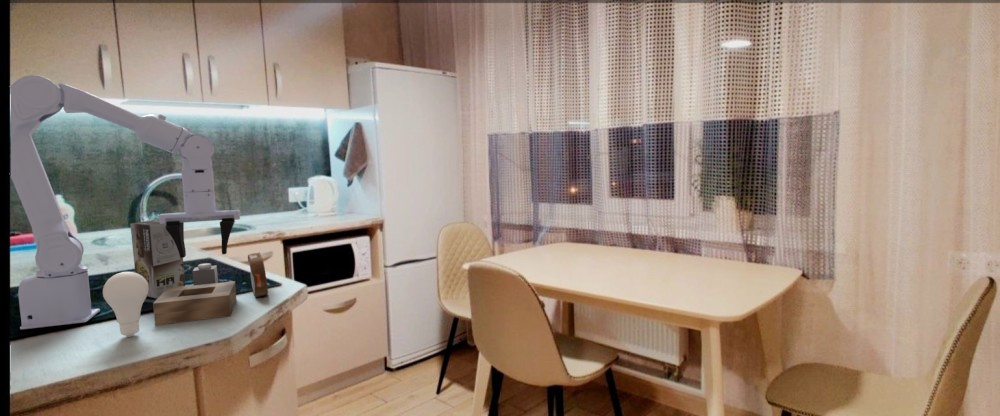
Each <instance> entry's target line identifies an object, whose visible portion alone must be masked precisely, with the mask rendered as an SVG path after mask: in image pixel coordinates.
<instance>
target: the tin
mask: <svg viewBox="0 0 1000 416" xmlns="http://www.w3.org/2000/svg"><path fill="white" fill-rule="evenodd" d="M247 262H248V265H249V269H250V282H251V288H252V291H253V292H252V293H253V294H254V295H253V296H254V297H255V298H259V297H265V296H269V289H268V280H267V273H266V268H265V263H264V259H263V257H262V254H261V252H257V253H255V252H254V253H250V254H249V253H248V255H247Z"/></svg>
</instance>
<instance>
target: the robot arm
mask: <svg viewBox="0 0 1000 416" xmlns="http://www.w3.org/2000/svg"><path fill="white" fill-rule="evenodd" d="M56 83H57V84H56ZM56 83H55V82H54V81H52V80H51V79H49V78H48V77H45V76H42V75H35V74H30V75H25V76H22V77H20V78H18V79H16V80H15V81H14V82H13V83H12V84H11V85H10V86H11V176H10V179H11V180H12V183H13V185H14V188H15V190H16V192H17V195H18V197H19V200H20V202H21V205H22V207H23V210H24V211H25V212H24V213H25V214H26V218H27V219H28V221H29V224H30V227H31V231H32V236H33V240H34V242H35V244H36V245H35V246H36V252H35V256H34V260H35V264H36V265H37V267H38V268H39V269H40V270H37V271H36V273H35V275H29V276H25V277H23V278H22V279H21V280H20V282H19V286H18V305H19V313H20V320H21V326H20V327H19V329H20V330H29V329H38V328H45V327H47V328H48V327H54V326H63V325H73V324H81V323H82V324H83V323H86V322H88V321H90V320H91V319H93V317H95V316H96V315H97V314H99V312H100V311H101V309H100V308H92V300H91V291H90V282H89V272H88V266H85V265H83V264H82V263H81V262H82V260H83V255H84V250H85V249H84V246H83V243H82V241H80V240H79V239H78V238H77V237H76V236H74V235H73V233H72V232H71V230H70V227H69V225H68V223H67V221H66V220H65V218H64V215H63V212H62V210H61V207H60V205H59V203H58V200H57V197H56V195H55V193H54V190H53V188H52V185H51V182H50V179H49V177H48V175H47V173H46V170H45V167H44V164H43V162H42V159H41V157H40V154H39V152H38V149H37V147H36V144H35V142H34V139H33V136H32V135H33V134H34V132H35V131H36V130H37V129H38V128H39V127H40V126H41V124H42V123H43V122H44V121H46V120H47V119H50V118H51V117H53V116H55V115H56V114H58V113H59V112H60V111H61V110H62V109H63V110H64V112H65V113H66V114H78V113H79V114H80V113H81V114H82V113H85V114H89V115H92V117H93V116H94V117H96V118H99V119H101V120H103V121H106V122H110V123H112V124H115V125H117V126H120V127H123V128H126V129H129V130H131V131H133V132H134V134H135V137H136V138H137V140H138V141H139V142H143V143H145V144H148V145H150V146H153V147H155V148H158V149H161V150H162V151H165V152H168V153H171V154H175V153H177V154H178V155H179V157H180V158H181V166H182V167H181V179H182V182H181V183H182V194H183V195H182V196H183V208H184V212H170V213H169V212H168V213H160V214H158V216H159V218H158V220H160V224H166V226H165V228H166V230H167V231H168V233H169V234H170V235H171V237H172V239H173V240H174V242H175V244H176V246H177V249H178V251H179V255H180V258H183V259H184V258H185V257H186V256H187V253H186V245H185V235H184V234H185V233H184V229H185V228H184V227H185V225H184V223H192V222H194V223H196V222H214V221H219V227H220V236H221V255H227V253H228V243H229V239H230V235H231V233H232V231H233V227H234V225H235V223H236V221H237V220H241V212H240V209H233V210H232V209H231V210H230V209H228V210H224V209H223V210H217V206H216V205H217V204H216V194H215V181H214V180H215V178H214V169H213V160H212V158H213V155H214V154H215V147H214V145H213V144H214V143H213V142H212V140H210V137H209V138H208V136H206V135H204V134H201V133H192V130H193V129H192V128H191V127H189V126H186V127H183V126H181V125H178V124H176V123H173V122H172V121H170V120H167V116H165V115H163V114H158V116H157V115H155V114H153V113H152V114H151V113H150V114H147V115H142V116H141V115H138V114H136V113H133V112H131V111H129V110H127V109H125V108H123V107H121V106H118V105H116V104H114V103H112V102H110V101H107V100H105V99H103V98H100V97H99V96H97V95H94V94H92V93H90V92H87V91H86V90H82V89H80V88H77V87H74V86H71V85H68V84H66V83H62V82H58V81H57V82H56Z"/></svg>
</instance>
